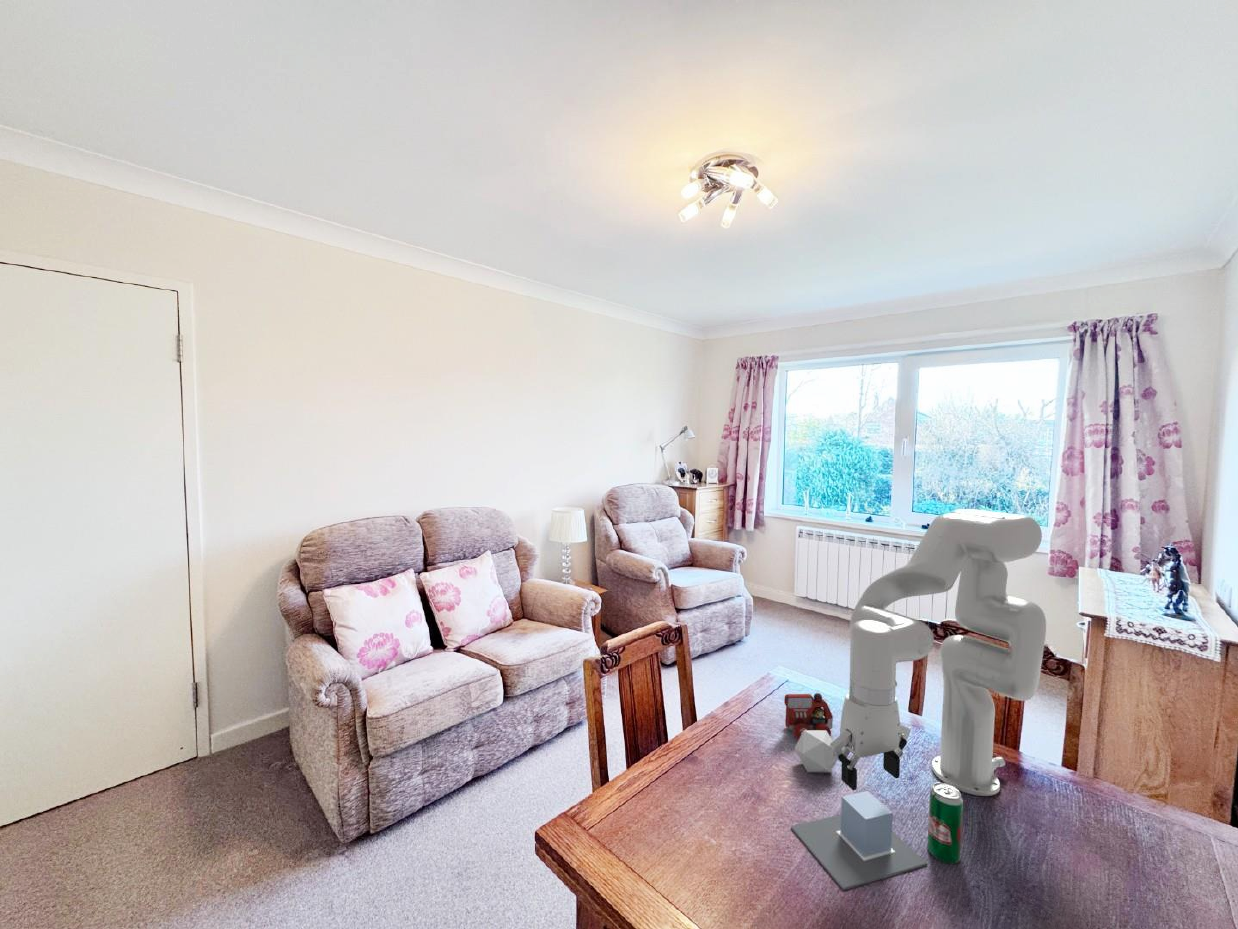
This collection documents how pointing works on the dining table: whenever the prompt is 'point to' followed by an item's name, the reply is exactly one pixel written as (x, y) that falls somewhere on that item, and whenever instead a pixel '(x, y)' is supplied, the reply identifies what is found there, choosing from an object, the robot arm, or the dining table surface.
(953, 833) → the soda can
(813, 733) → the die
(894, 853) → the mat
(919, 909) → the dining table surface
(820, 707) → the toy fire truck
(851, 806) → the blue block
